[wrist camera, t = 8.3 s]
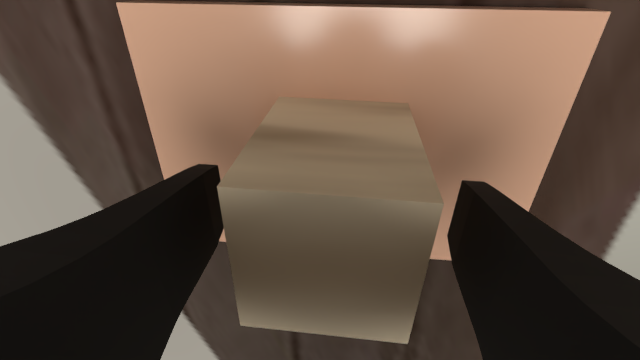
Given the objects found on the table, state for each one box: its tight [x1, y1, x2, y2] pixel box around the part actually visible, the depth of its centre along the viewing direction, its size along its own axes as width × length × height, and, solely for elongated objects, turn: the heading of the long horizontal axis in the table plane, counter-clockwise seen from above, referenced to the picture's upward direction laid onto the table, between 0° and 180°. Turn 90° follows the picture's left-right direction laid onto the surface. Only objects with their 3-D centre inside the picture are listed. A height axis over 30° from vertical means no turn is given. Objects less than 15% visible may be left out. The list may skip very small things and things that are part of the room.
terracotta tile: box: [116, 0, 611, 260], centre depth 13 cm, size 10×15×1 cm, turn 90°
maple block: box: [217, 97, 444, 344], centre depth 10 cm, size 4×4×6 cm
